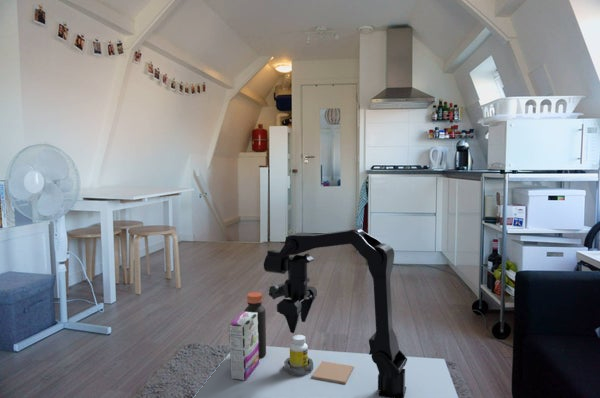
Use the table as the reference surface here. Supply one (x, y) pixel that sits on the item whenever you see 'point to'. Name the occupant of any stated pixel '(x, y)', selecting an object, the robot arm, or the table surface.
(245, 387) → the table surface
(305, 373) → the collar
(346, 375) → the mat
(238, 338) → the candy bar box
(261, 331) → the vinegar
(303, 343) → the supplement bottle
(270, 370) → the table surface
